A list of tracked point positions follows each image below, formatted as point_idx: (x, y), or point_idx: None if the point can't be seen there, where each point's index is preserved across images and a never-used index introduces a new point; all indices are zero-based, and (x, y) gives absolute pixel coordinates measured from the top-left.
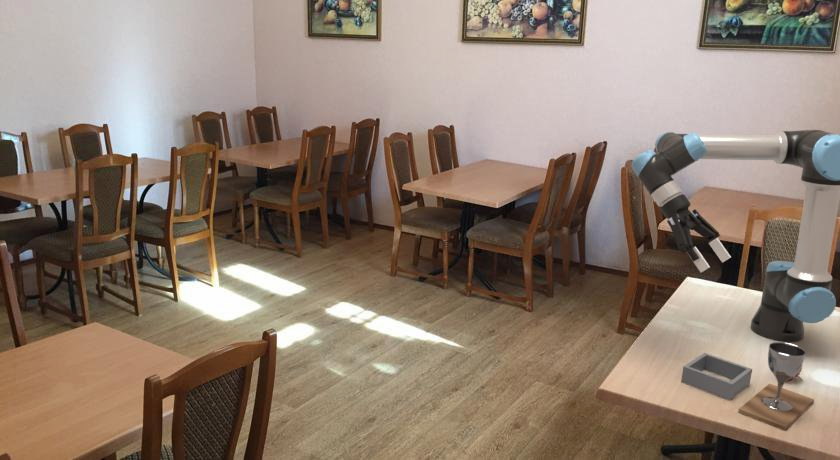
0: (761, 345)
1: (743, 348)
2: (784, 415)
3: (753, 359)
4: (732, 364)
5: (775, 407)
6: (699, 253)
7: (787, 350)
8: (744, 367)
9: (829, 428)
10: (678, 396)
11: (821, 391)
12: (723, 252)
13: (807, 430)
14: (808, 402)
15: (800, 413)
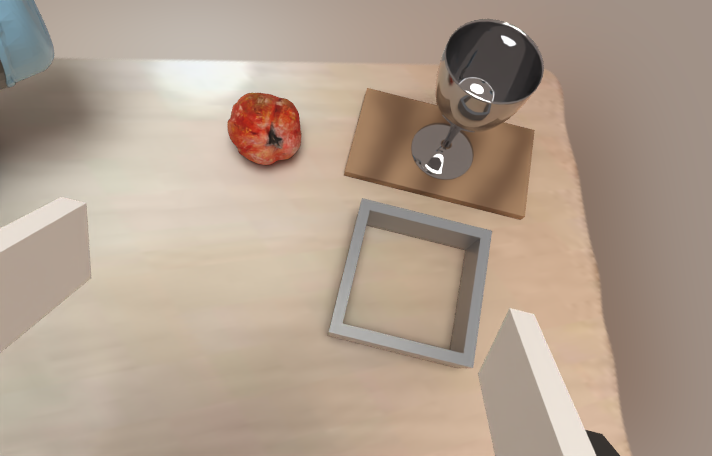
0: None
1: (114, 255)
2: (486, 134)
3: (186, 222)
4: (360, 247)
5: (468, 150)
6: (580, 442)
7: (439, 72)
8: (364, 216)
9: None
10: None
11: (295, 80)
12: (33, 258)
13: None
14: (391, 97)
15: None
